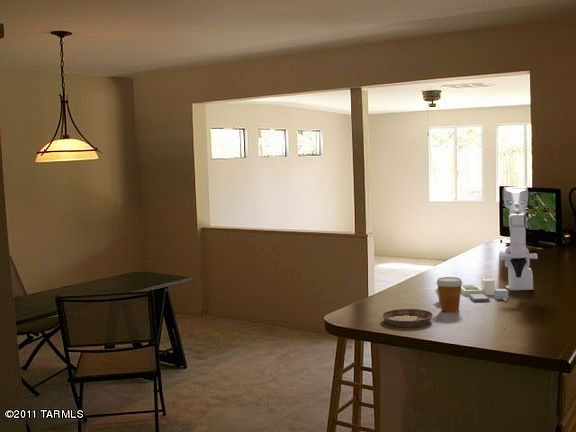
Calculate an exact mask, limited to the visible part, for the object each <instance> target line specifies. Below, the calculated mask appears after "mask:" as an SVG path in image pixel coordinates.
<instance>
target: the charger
mask: <svg viewBox="0 0 576 432" xmlns="http://www.w3.org/2000/svg"><path fill="white" fill-rule="evenodd" d="M495 282H496V281H495V280H494V279H493V278H491V277H489V278H482V279H481V287H482V288H481V289H483V290H484V295H485V296H494V289H496V287H495Z"/></svg>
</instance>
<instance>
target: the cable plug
mask: <svg viewBox="0 0 576 432" xmlns="http://www.w3.org/2000/svg"><path fill="white" fill-rule="evenodd" d="M493 298H494V299H495V300H502V301H504V302H508V300H509V289H506V288H495V289H494V295H493Z"/></svg>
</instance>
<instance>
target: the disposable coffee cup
mask: <svg viewBox="0 0 576 432" xmlns="http://www.w3.org/2000/svg"><path fill="white" fill-rule="evenodd" d="M435 283H436V285H437V289H438V290H439V297H440V302H439V303H440V309H441V312H443V311H447V312H446V313H457V312H456V311H458V312H460V303H461V294H462V293H461V285H463V283H464V282H463V281H462V278H460V277H455V276H445V277H444V276H443V277H438V278H437V280H436V282H435Z"/></svg>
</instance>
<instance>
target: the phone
mask: <svg viewBox="0 0 576 432" xmlns="http://www.w3.org/2000/svg"><path fill="white" fill-rule="evenodd" d="M468 298H469V299H470V300H471V301H472V302H473V301H474V302H473V303H489V302H490V297H488V295H484V294H468Z"/></svg>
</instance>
